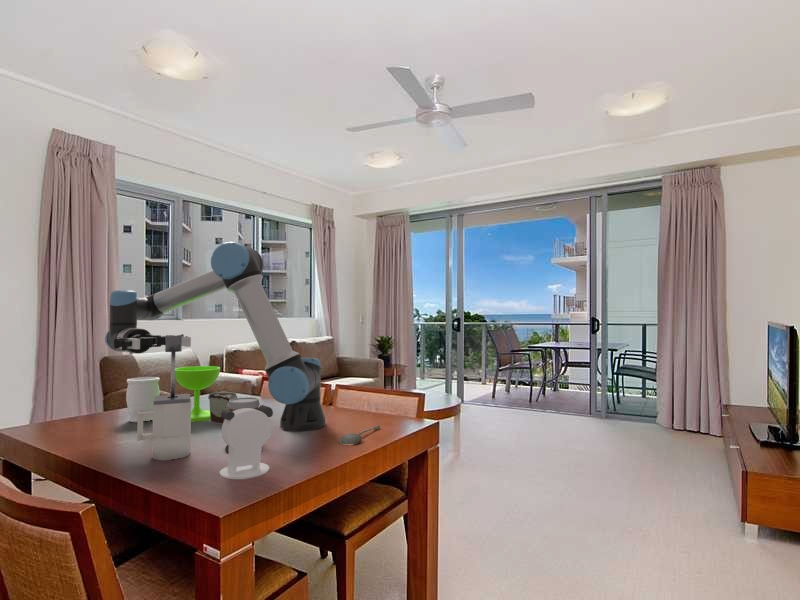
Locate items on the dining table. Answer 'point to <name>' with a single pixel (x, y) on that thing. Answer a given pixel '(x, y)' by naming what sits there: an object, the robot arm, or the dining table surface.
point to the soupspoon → (354, 437)
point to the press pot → (168, 426)
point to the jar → (141, 396)
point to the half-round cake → (219, 405)
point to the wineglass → (197, 385)
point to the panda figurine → (245, 441)
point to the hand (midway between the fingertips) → (165, 343)
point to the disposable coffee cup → (243, 403)
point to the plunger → (173, 355)
